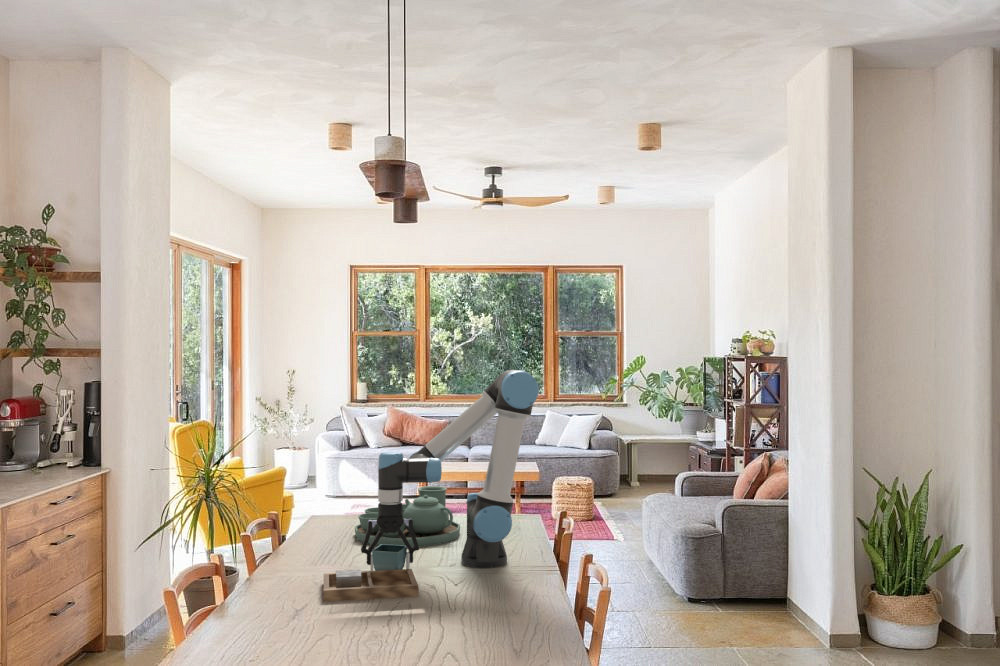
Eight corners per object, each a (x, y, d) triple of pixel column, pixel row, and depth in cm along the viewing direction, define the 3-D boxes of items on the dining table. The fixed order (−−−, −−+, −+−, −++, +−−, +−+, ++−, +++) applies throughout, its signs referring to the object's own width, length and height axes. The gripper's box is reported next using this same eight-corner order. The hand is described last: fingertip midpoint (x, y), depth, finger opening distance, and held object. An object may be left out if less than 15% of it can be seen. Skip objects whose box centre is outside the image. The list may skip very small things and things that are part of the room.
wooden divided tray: (411, 582, 250) (411, 568, 250) (418, 599, 232) (418, 585, 232) (323, 586, 245) (323, 573, 245) (323, 605, 227) (323, 590, 227)
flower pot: (398, 581, 250) (399, 552, 251) (371, 580, 252) (371, 550, 252) (407, 574, 259) (407, 545, 259) (380, 572, 261) (380, 543, 261)
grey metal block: (360, 586, 241) (360, 569, 241) (361, 593, 235) (361, 575, 235) (335, 588, 240) (336, 570, 240) (336, 594, 233) (336, 577, 233)
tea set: (371, 523, 336) (371, 483, 336) (468, 527, 331) (468, 485, 331) (339, 546, 297) (340, 500, 297) (449, 550, 291) (449, 503, 292)
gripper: (425, 499, 262) (425, 569, 262) (352, 501, 257) (351, 573, 257) (428, 503, 255) (428, 575, 254) (353, 505, 250) (352, 579, 250)
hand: (389, 574), depth 256 cm, fingers closed on flower pot, 10 cm apart
